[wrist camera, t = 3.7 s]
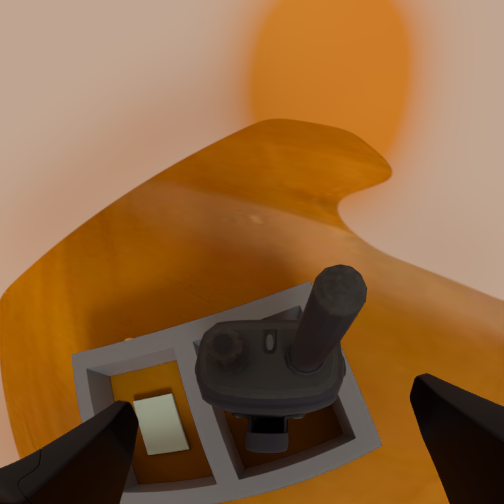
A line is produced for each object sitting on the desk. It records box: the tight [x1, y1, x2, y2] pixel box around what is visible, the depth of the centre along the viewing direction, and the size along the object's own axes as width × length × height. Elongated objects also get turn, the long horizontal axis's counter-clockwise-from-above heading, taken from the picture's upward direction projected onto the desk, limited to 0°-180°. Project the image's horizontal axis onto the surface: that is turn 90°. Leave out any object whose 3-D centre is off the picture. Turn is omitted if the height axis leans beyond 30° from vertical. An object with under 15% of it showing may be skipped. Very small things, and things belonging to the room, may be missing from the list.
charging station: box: [72, 281, 382, 504], centre depth 14 cm, size 17×11×3 cm
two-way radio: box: [195, 264, 367, 453], centre depth 9 cm, size 6×4×15 cm
